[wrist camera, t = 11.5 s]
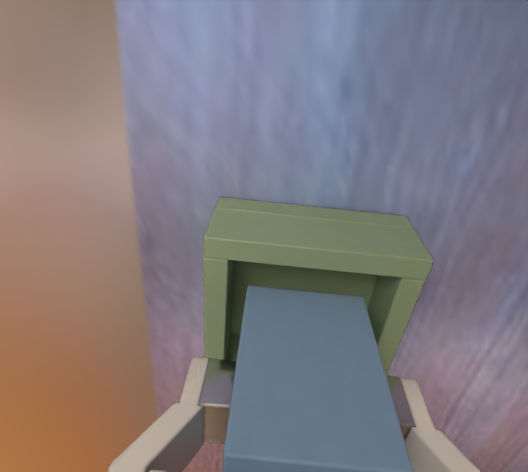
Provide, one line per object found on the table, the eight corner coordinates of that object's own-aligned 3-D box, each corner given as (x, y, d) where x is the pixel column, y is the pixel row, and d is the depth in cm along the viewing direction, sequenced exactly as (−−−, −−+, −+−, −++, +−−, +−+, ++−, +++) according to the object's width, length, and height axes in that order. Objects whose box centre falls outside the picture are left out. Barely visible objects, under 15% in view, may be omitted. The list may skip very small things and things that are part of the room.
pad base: (219, 195, 14) (203, 236, 11) (407, 215, 14) (435, 260, 11) (216, 329, 17) (204, 383, 15) (363, 345, 17) (376, 401, 15)
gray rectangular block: (247, 284, 12) (223, 455, 7) (364, 296, 12) (415, 474, 7) (241, 362, 14) (219, 535, 9) (340, 372, 14) (369, 550, 9)
